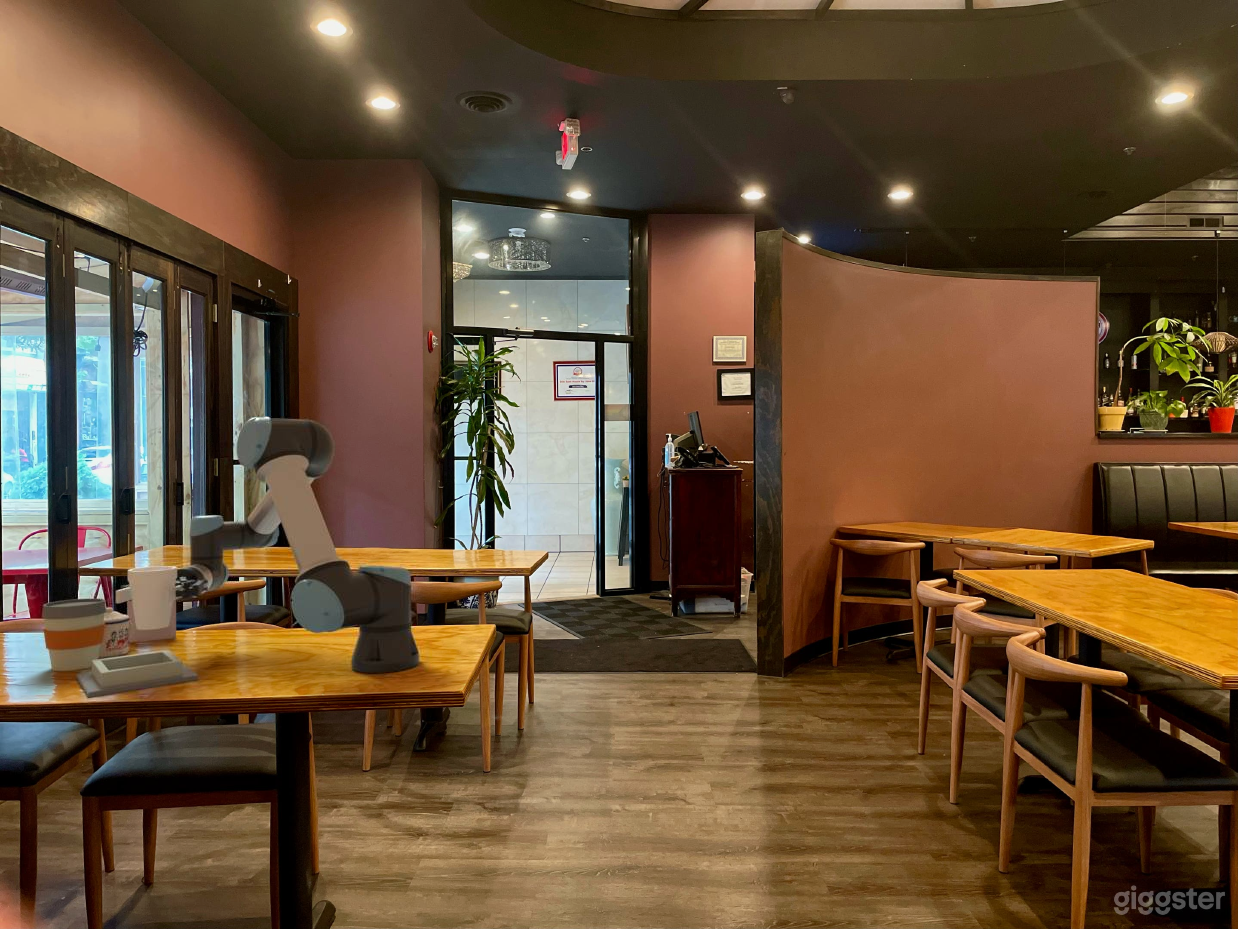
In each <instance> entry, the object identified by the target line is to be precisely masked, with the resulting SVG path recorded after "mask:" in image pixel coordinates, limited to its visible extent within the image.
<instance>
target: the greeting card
mask: <svg viewBox="0 0 1238 929" xmlns="http://www.w3.org/2000/svg"><path fill="white" fill-rule="evenodd" d="M126 605H127V606H126V607H127V608H126V609H127V610H126V611H127V612H126V613H127V614H126V615H128V616H129V618H130V620H129V621H130V622H131V623H132V625H133V632H132V635H131V637H130V638H129V643H135V642H147V641H156V640H157V641H158V640H168V639H171V640H172V639H177V599H176V600H173V603H172V610H171V617H170V623H169V626H168V627H165V628H160V629H151V630H139V629H137V628H136V624H135V617H134V611H133V604H132V601H126Z"/></svg>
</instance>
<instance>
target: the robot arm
mask: <svg viewBox="0 0 1238 929" xmlns="http://www.w3.org/2000/svg"><path fill="white" fill-rule="evenodd" d="M335 448H336V447H335V443H334V439H333V436H332V434H331V433H330V431H329V430H328V428H326V427H325V426H324V425H322V423H319V422H317V421H315V420H312V419H311V420H310V419H303V418H302V419H298V418H296V419H295V418H271V417H269V416H265V417H251V418H249V419H248V420H247V421H246V422H245V423H243V425H242V426H241V428H240V431H239V433H238V436H237V442H236V456H237V459H238V460H237V461H238V462H239V464H240V465H241V466H242V467H245V468H247V469H253V470H254V473H255V475H256V478H257V480H259V481H260V482H261V483H264V484H266V485H267V487H268V490H267V491H266V492H265V494H264V495H263V496H262V498H261V499H260V501H259V502H258V503H257V504H256V506H255V507H254V508H253V510H252V511H251V513H250V514H249V516H247V518H246V519H245V520H240V521H237V520H235V521H224V518H223V516H222V515H216V514H215V515H214V514H213V515H212V514H211V515H196V516H193V517H192V518H191V520H190V524H189V525H190V526H189V542H190V543H189V544H190V546H189V547H190V559H189V560H190V561H189V562H190V563H189V565H187V566H185V567H180V568H177V578H176V582H175V587H173V588H169V589H166V590H165V602H171V601H173V600H176V601H177V600H187V599H190V598H197V597H198V596H200V595H201V594H205V593H207V592H210V591H214V590H216V589H219V588H220V587H222V586H223V585H224V584H225V583H226V582H227V581H228V580H229V579H228V578H229V575H230V572H229V571H230V570H229V568H228V566H227V564H226V563H225V562H224V552H225V551H234V550H235V551H236V550H248V549H263V548H267V547H271V546H273V545H275V544H277V542H278V537H279V536H280V529H279V525H280V524H281V526H282V528H283V531H284V533H285V536H286V539H287V541H288V544H289V546H290V549H291V552H292V555H293V558H294V560H295V563H296V566H297V569H298V572H299V573H298V575H297V576H296V577H295V580H294V581H295V582H294V583H295V585H294V587H293V589H292V591H291V596H290V598H291V600H292V601H291V602H290V603H291V604H290V606H291V609H292V613H293V616H294V619H296V621H297V623H298V624H299V625H300V626H301V627H302V628H303V629H305V630H306V631H309V632H311V633H313V634H321V633H333V632H337V631H340V630H343V629H349V628H354V627H358V630H359V631H358V635H357V636H358V638H357V639H356V643H355V647H354V650H353V652H352V656H351V669H352V670H353V671H355V672H359V673H365V674H367V673H370V674H373V673H374V674H382V673H393V672H399V671H405V670H408V669H412V668H414V667H416V666H418V665H419V664H420V652H419V648H418V646H417V643H416V640H415V637H414V634H413V631H412V588H413V586H412V582H411V579H412V578H411V573H410V571H409V570H408V569H407V568H406V567H399V566H398V567H397V566H386V565H385V566H384V565H360V566H359V567H358V570H357V573H353V571H352V569H351V566H350V563H349V562H348V560H346V559H343V558H340V557H339V556H338V553H337V550H336V548H335V546H334V542H333V540H332V537H331V534H330V533H329V529H328V527H327V524H326V521H325V519H324V517H323V514H322V512H321V510H320V507H319V504H318V502H317V499H316V497H315V494H314V491H313V489H312V487H311V485H312V483H313V482H314V480H315V479H319V478H321V477H322V476H324V475H325V473H326V472H327V471H328V470H329V468H330V466H331V465H332V462H333V459H334V457H335V452H336V451H335ZM127 601H132V598H131V591H130V585H129V584H126V585H125V584H124V585H120V589H118V590H115V604H121V603H124V602H127Z"/></svg>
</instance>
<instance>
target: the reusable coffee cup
mask: <svg viewBox="0 0 1238 929" xmlns="http://www.w3.org/2000/svg"><path fill="white" fill-rule="evenodd" d="M42 606H43V607H42V613H41V614H42V615H41V618H42V619H43V622H44V628H43V638H44V643H45V648H46V649H47V650H48V653H49V659H50V660H49V661H50V665H51V670H52V671H56V672H67V671H68V672H69V671H77V670H83V669H84V670H85V669H88V668H92V660H98V659H99V658H98V657H99V650H100V643H102V642H103V636H104V629H105V623H103V621H104V614H105V612H106V608H107V606H106V600H105V599H104V598H78V599H77V598H75V599H65V600H64V599H63V600H57V601H53V602H47V603H44V604H43V605H42Z"/></svg>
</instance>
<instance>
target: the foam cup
mask: <svg viewBox="0 0 1238 929" xmlns="http://www.w3.org/2000/svg"><path fill="white" fill-rule="evenodd" d="M177 569H178V567H177V566H172V565H171V566H170V565H157V566H154V565H153V566H143V567H136V568H129V569H127V582H128V583H129V584H128V585H130V591H131V598H132V604H133V611H134V617H135V624H136V628H137V629H139V630H151V629H160V628H165V627H168V626H169V623H170V617H171V610H172V603H173V601H171V602H165V590H166V589H169V588H173V587H175V582H176V578H177Z"/></svg>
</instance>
